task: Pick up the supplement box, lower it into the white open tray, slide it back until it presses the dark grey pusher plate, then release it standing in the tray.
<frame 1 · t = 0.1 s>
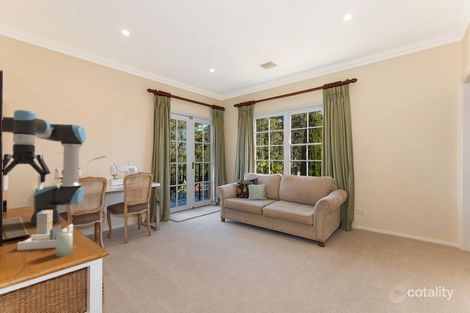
hand: (23, 189, 105), 28 cm above the table, fingers open, 13 cm apart
supplement box: (44, 235, 124), on the table
pusher: (61, 233, 113), point 5 cm above the table, slide at 0.0 cm
sage jar: (64, 253, 101), on the table
white open tray: (46, 244, 111), on the table
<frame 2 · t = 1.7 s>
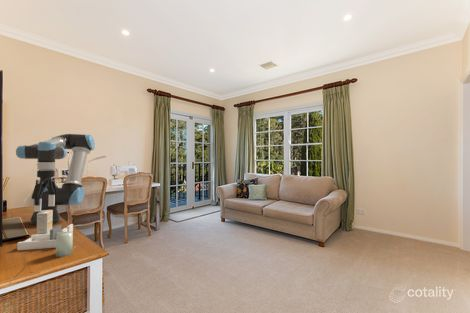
hand: (44, 208, 123), 15 cm above the table, fingers open, 13 cm apart
nothing on the table moved.
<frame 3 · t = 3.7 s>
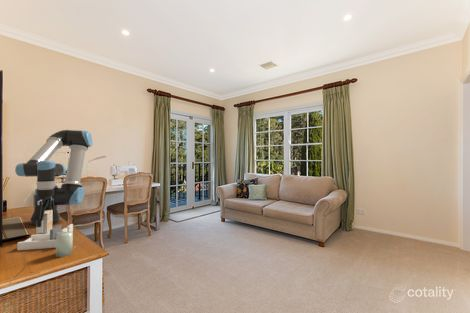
hand: (44, 229, 124), 3 cm above the table, fingers closed on supplement box, 9 cm apart
supplement box: (44, 235, 124), on the table, touching gripper
everything else where it was.
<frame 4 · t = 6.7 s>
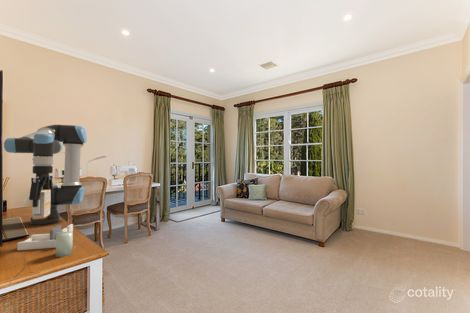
hand: (41, 211, 111), 16 cm above the table, fingers closed on supplement box, 9 cm apart
supplement box: (41, 217, 110), point 13 cm above the table, touching gripper
everything else where it was.
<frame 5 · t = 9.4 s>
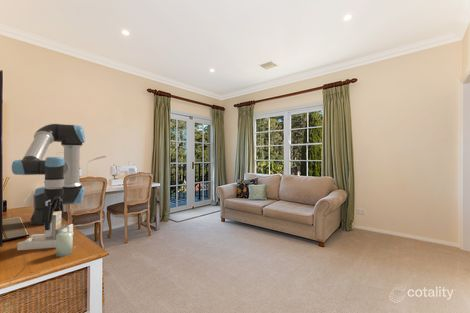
hand: (53, 233, 112), 5 cm above the table, fingers closed on supplement box, 9 cm apart
supplement box: (52, 239, 112), point 2 cm above the table, touching gripper, pusher
pusher: (66, 233, 113), point 5 cm above the table, slide at 2.2 cm, touching supplement box
everything else where it was.
when the fingers open (5 cm above the table, at t = 10.2 s): supplement box drops 1 cm, resting on white open tray.
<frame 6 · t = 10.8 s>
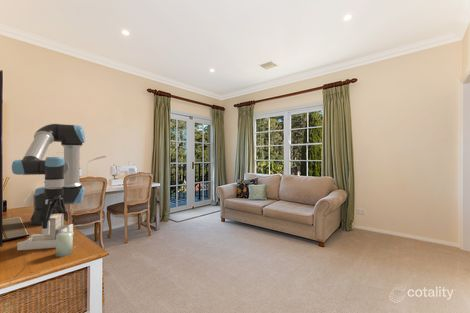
hand: (53, 230, 112), 7 cm above the table, fingers open, 13 cm apart
supplement box: (52, 242, 112), point 1 cm above the table, touching white open tray
pusher: (66, 233, 114), point 5 cm above the table, slide at 2.3 cm
everything else where it was.
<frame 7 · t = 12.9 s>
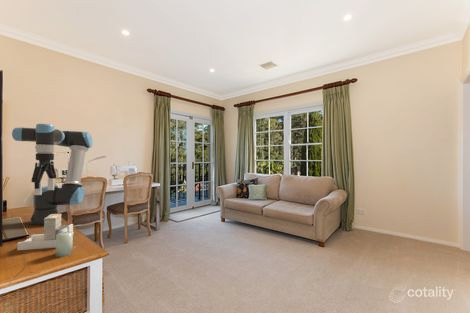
hand: (44, 192, 121), 24 cm above the table, fingers open, 13 cm apart
nothing on the table moved.
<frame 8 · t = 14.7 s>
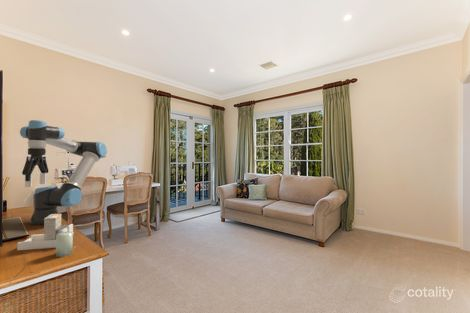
hand: (35, 185, 127), 27 cm above the table, fingers open, 13 cm apart
nothing on the table moved.
at the end: supplement box inside the target area on the white open tray (1.4 cm from its centre), point 0.8 cm above the white open tray's base; supplement box tilted 0°; pusher slide at 2.3 cm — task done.
